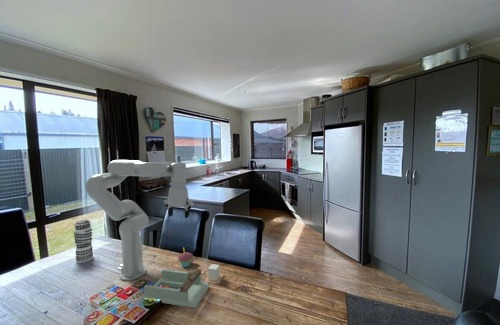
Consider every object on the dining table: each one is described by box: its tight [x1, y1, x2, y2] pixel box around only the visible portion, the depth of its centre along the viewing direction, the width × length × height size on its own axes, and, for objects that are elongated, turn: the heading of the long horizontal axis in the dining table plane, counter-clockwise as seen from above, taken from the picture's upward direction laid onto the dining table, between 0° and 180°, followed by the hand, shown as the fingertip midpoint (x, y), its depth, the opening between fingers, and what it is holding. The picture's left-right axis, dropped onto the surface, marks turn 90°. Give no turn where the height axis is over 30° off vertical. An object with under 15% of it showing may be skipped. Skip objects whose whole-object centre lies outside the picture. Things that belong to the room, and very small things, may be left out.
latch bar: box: [180, 268, 202, 292], centre depth 96 cm, size 3×14×5 cm, turn 168°
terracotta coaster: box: [203, 273, 225, 286], centre depth 109 cm, size 8×8×1 cm
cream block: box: [207, 263, 221, 281], centre depth 109 cm, size 4×4×6 cm
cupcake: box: [178, 246, 194, 268], centre depth 124 cm, size 9×8×12 cm
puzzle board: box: [142, 269, 210, 309], centre depth 98 cm, size 26×14×7 cm, turn 78°
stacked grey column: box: [73, 219, 94, 264], centre depth 132 cm, size 9×9×25 cm
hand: (178, 216), depth 113 cm, fingers open, 9 cm apart
